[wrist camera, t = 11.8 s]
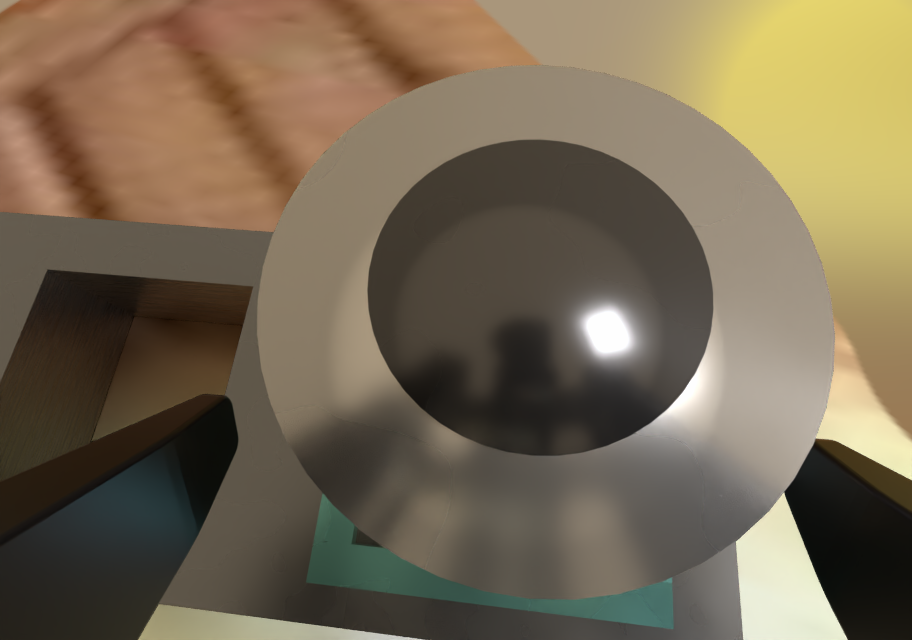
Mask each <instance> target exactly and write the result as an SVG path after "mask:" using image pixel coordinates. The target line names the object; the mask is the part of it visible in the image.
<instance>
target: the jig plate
mask: <svg viewBox="0 0 912 640" xmlns="http://www.w3.org/2000/svg"><path fill="white" fill-rule="evenodd" d="M273 233H274V232H262V231H249V230H235V229H222V228H208V227H195V226H182V225H168V224H155V223H141V222H128V221H114V220H101V219H87V218H74V217H60V216H47V215H34V214H20V213H7V212H0V481H3V480H5V479H7V478H10V477H12V476H14V475H17V474H19V473H21V472H24V471H26V470H28V469H31V468H33V467H35V466H37V465H40V464H42V463H44V462H47V461H49V460H51V459H54V458H56V457H58V456H61V455H63V454H65V453H68V452H70V451H72V450H75V449H77V448H79V447H81V446H84V445H86V444H88V443H90V442H91V439H92V436H93V433H94V430H95V427H96V424H97V421H98V418H99V415H100V412H101V410H102V407H103V404H104V401H105V398H106V395H107V392H108V389H109V386H110V383H111V380H112V378H113V375H114V372H115V369H116V366H117V363H118V360H119V357H120V354H121V351H122V348H123V345H124V343H125V340H126V337H127V334H128V331H129V328H130V325H131V322H132V319H133V316H140V317H151V318H163V319H174V320H185V321H196V322H208V323H219V324H230V325H241V326H243V328H242V331H241V335H240V339H239V343H238V347H237V351H236V354H235V358H234V362H233V366H232V370H231V373H230V377H229V381H228V385H227V389H226V392H225V396H227V397H228V398H230V400H231V402H232V405H233V410H234V415H235V420H236V426H237V431H238V437H239V441H238V447H237V451H236V453H235V456H234V458H233V460H232V462H231V465H230V467H229V469H228V471H227V473H226V476H225V478H224V480H223V482H222V485H221V487H220V489H219V491H218V493H217V496H216V498H215V500H214V502H213V505H212V507H211V509H210V511H209V513H208V516H207V518H206V520H205V522H204V524H203V526H202V528H201V530H200V532H199V534H198V536H197V538H196V540H195V542H194V544H193V545H192V547H191V549H190V551H189V552H188V554H187V556H186V558H185V559H184V561H183V563H182V565H181V566H180V568H179V570H178V571H177V573H176V575H175V577H174V578H173V580H172V582H171V584H170V585H169V587H168V589H167V590H166V592H165V594H164V596H163V597H162V599H161V601H160V602H159V604H163V605H171V606H178V607H186V608H193V609H201V610H208V611H216V612H223V613H231V614H238V615H246V616H253V617H261V618H268V619H276V620H283V621H291V622H298V623H306V624H313V625H321V626H328V627H336V628H343V629H350V630H358V631H365V632H373V633H380V634H388V635H395V636H403V637H410V638H418V639H425V640H743V632H742V619H741V606H740V593H739V579H738V566H737V553H736V541H735V542H734V543H732V544H731V545H729V546H728V547H726V548H725V549H723V550H722V551H720V552H719V553H717V554H716V555H714V556H713V557H711V558H710V559H708V560H707V561H705V562H704V563H702V564H700V565H697V566H695V567H693V568H691V569H689V570H687V571H684V572H682V573H680V574H678V575H676V576H674V577H671V578H669V579H667V580H665V581H663V582H659V583H656V584H652V585H649V586H645V587H642V588H638V589H635V590H631V591H628V592H624V593H621V594H614V595H607V596H599V597H591V598H583V599H575V600H568V599H527V598H521V597H515V596H509V595H504V594H498V593H492V592H486V591H481V590H478V589H475V588H472V587H469V586H466V585H463V584H460V583H456V582H453V581H450V580H447V579H444V578H441V577H438V576H436V575H434V574H432V573H430V572H428V571H426V570H424V569H422V568H420V567H418V566H416V565H414V564H412V563H410V562H408V561H406V560H404V559H402V558H400V557H398V556H397V555H395V554H394V553H392V552H391V551H389V550H388V549H386V548H385V547H383V546H382V545H380V544H379V543H377V542H376V541H375V540H373V539H372V538H370V537H369V536H367V535H366V534H364V533H363V532H362V531H361V530H360V529H359V528H357V527H356V526H355V525H354V524H353V523H352V522H351V521H350V520H349V519H348V518H346V517H345V516H344V515H343V514H342V513H341V512H340V511H339V510H338V509H337V508H335V507H334V506H333V505H332V504H331V502H330V501H329V500H328V499H327V498H326V496H325V495H324V494H323V493H322V491H321V490H320V489H319V488H318V487H317V485H316V484H315V483H314V482H313V481H312V479H311V478H310V477H309V476H308V475H307V473H306V472H305V470H304V468H303V467H302V465H301V464H300V462H299V460H298V459H297V457H296V455H295V454H294V452H293V450H292V449H291V447H290V446H289V444H288V442H287V441H286V439H285V436H284V434H283V432H282V429H281V427H280V425H279V422H278V420H277V418H276V415H275V413H274V411H273V408H272V406H271V403H270V400H269V396H268V392H267V388H266V385H265V381H264V377H263V374H262V370H261V363H260V354H259V346H258V338H257V308H258V294H259V288H260V282H261V275H262V269H263V265H264V261H265V258H266V255H267V251H268V248H269V245H270V241H271V238H272V235H273Z"/></svg>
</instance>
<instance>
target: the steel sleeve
mask: <svg viewBox="0 0 912 640" xmlns="http://www.w3.org/2000/svg"><path fill="white" fill-rule="evenodd" d="M257 338H258V346H259V354H260V363H261V370H262V374H263V377H264V381H265V385H266V388H267V392H268V396H269V400H270V403H271V406H272V408H273V411H274V413H275V415H276V418H277V420H278V422H279V425H280V427H281V429H282V432H283V434H284V436H285V439H286V441H287V442H288V444H289V446H290V447H291V449H292V450H293V452H294V454H295V455H296V457H297V459H298V460H299V462H300V464H301V465H302V467H303V468H304V470H305V472H306V473H307V475H308V476H309V477H310V478H311V479H312V481H313V482H314V483H315V484H316V485H317V487H318V488H319V489H320V490H321V491H322V493H323V494H324V495H325V496H326V498H327V499H328V500H329V501H330V502H331V504H332V505H333V506H334V507H335V508H337V509H338V510H339V511H340V512H341V513H342V514H343V515H344V516H345V517H346V518H348V519H349V520H350V521H351V522H352V523H353V524H354V525H355V526H356V527H357V528H359V529H360V530H361V531H362V532H363V533H364V534H366V535H367V536H369V537H370V538H372V539H373V540H375V541H376V542H377V543H379V544H380V545H382V546H383V547H385V548H386V549H388V550H389V551H391V552H392V553H394V554H395V555H397V556H398V557H400V558H402V559H404V560H406V561H408V562H410V563H412V564H414V565H416V566H418V567H420V568H422V569H424V570H426V571H428V572H430V573H432V574H434V575H436V576H438V577H441V578H444V579H447V580H450V581H453V582H456V583H460V584H463V585H466V586H469V587H472V588H475V589H478V590H481V591H486V592H492V593H498V594H504V595H509V596H515V597H521V598H527V599H568V600H575V599H583V598H591V597H599V596H607V595H614V594H621V593H624V592H628V591H631V590H635V589H638V588H642V587H645V586H649V585H652V584H656V583H659V582H663V581H665V580H667V579H669V578H671V577H674V576H676V575H678V574H680V573H682V572H684V571H687V570H689V569H691V568H693V567H695V566H697V565H700V564H702V563H704V562H705V561H707V560H708V559H710V558H711V557H713V556H714V555H716V554H717V553H719V552H720V551H722V550H723V549H725V548H726V547H728V546H729V545H731V544H732V543H734V542H735V541H737V540H738V539H739V538H740V537H741V536H742V535H744V534H745V533H746V532H747V531H748V530H749V529H750V528H751V527H752V526H753V525H754V524H755V523H757V522H758V521H759V520H760V519H761V518H762V517H763V516H764V515H765V514H766V513H767V512H768V511H769V510H770V509H771V508H772V507H773V505H774V504H775V503H776V501H777V500H778V499H779V498H780V496H781V495H782V494H783V493H784V491H785V490H786V489H787V487H788V486H789V485H790V484H791V482H792V481H793V480H794V478H795V477H796V475H797V473H798V471H799V469H800V468H801V466H802V464H803V462H804V460H805V458H806V457H807V455H808V453H809V451H810V449H811V448H812V446H813V444H814V441H815V438H816V436H817V433H818V430H819V427H820V424H821V422H822V419H823V416H824V413H825V410H826V408H827V402H828V397H829V392H830V387H831V381H832V376H833V371H834V342H835V331H834V322H833V313H832V304H831V297H830V293H829V289H828V285H827V281H826V278H825V274H824V270H823V266H822V262H821V260H820V258H819V255H818V253H817V250H816V248H815V245H814V243H813V241H812V238H811V236H810V233H809V231H808V229H807V227H806V226H805V224H804V222H803V220H802V219H801V217H800V215H799V213H798V212H797V210H796V208H795V206H794V205H793V203H792V201H791V200H790V198H789V197H788V196H787V194H786V193H785V192H784V190H783V189H782V188H781V186H780V185H779V184H778V182H777V181H776V180H775V178H774V177H773V175H772V174H771V173H770V172H769V171H768V170H767V169H766V168H765V167H764V166H763V165H762V163H761V162H760V161H759V160H758V159H757V158H756V157H755V156H754V155H753V154H752V153H751V152H750V151H749V150H748V149H747V148H746V147H745V146H744V145H742V144H741V143H740V142H739V141H738V140H737V139H735V138H734V137H733V136H732V135H731V134H729V133H728V132H727V131H726V130H724V129H723V128H722V127H721V126H719V125H718V124H716V123H715V122H713V121H712V120H710V119H709V118H707V117H706V116H704V115H703V114H701V113H700V112H698V111H697V110H695V109H693V108H692V107H690V106H688V105H686V104H684V103H682V102H680V101H678V100H676V99H675V98H673V97H671V96H669V95H667V94H665V93H662V92H660V91H657V90H655V89H652V88H650V87H647V86H644V85H642V84H640V83H637V82H634V81H630V80H627V79H624V78H620V77H616V76H613V75H610V74H606V73H601V72H595V71H590V70H585V69H579V68H572V67H559V66H547V65H526V66H506V67H498V68H490V69H482V70H477V71H473V72H468V73H464V74H459V75H455V76H451V77H448V78H445V79H442V80H439V81H436V82H433V83H430V84H427V85H424V86H421V87H419V88H417V89H415V90H413V91H411V92H409V93H406V94H404V95H402V96H400V97H398V98H396V99H394V100H392V101H390V102H389V103H387V104H385V105H384V106H382V107H380V108H379V109H377V110H375V111H374V112H372V113H371V114H369V115H367V116H366V117H365V118H363V119H362V120H361V121H360V122H358V123H357V124H356V125H354V126H353V127H352V128H350V129H349V130H348V131H347V132H345V133H344V134H343V135H342V136H341V137H340V138H339V139H338V140H337V141H336V142H335V143H334V144H333V145H332V146H331V147H330V148H329V149H327V150H326V151H325V152H324V153H323V154H322V155H321V157H320V158H319V159H318V160H317V162H316V163H315V164H314V165H313V167H312V168H311V169H310V170H309V172H308V173H307V174H306V175H305V176H304V178H303V179H302V180H301V182H300V184H299V185H298V187H297V188H296V190H295V192H294V193H293V195H292V197H291V198H290V200H289V201H288V203H287V205H286V206H285V208H284V211H283V213H282V215H281V217H280V220H279V222H278V224H277V226H276V228H275V231H274V233H273V235H272V238H271V241H270V245H269V248H268V251H267V255H266V258H265V261H264V265H263V269H262V275H261V282H260V288H259V294H258V308H257Z"/></svg>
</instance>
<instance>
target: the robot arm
mask: <svg viewBox="0 0 912 640" xmlns="http://www.w3.org/2000/svg"><path fill="white" fill-rule="evenodd" d="M238 441H239V437H238V431H237V426H236V420H235V415H234V410H233V405H232V402H231V400H230V398H228V397H227V396H224V395H211V394H203V395H200V396H197V397H195V398H193V399H190V400H188V401H186V402H183V403H181V404H179V405H176V406H174V407H172V408H169V409H167V410H165V411H162V412H160V413H158V414H156V415H153V416H151V417H149V418H146V419H144V420H142V421H139V422H137V423H135V424H132V425H130V426H128V427H125V428H123V429H121V430H118V431H116V432H114V433H112V434H109V435H107V436H105V437H102V438H100V439H98V440H95V441H93V442H91V443H88V444H86V445H84V446H81V447H79V448H77V449H75V450H72V451H70V452H68V453H65V454H63V455H61V456H58V457H56V458H54V459H51V460H49V461H47V462H44V463H42V464H40V465H37V466H35V467H33V468H31V469H28V470H26V471H24V472H21V473H19V474H17V475H14V476H12V477H10V478H7V479H5V480H3V481H0V640H138V639H139V637H140V635H141V634H142V632H143V630H144V628H145V627H146V625H147V623H148V621H149V620H150V618H151V616H152V615H153V613H154V611H155V609H156V608H157V606H158V604H159V602H160V601H161V599H162V597H163V596H164V594H165V592H166V590H167V589H168V587H169V585H170V584H171V582H172V580H173V578H174V577H175V575H176V573H177V571H178V570H179V568H180V566H181V565H182V563H183V561H184V559H185V558H186V556H187V554H188V552H189V551H190V549H191V547H192V545H193V544H194V542H195V540H196V538H197V536H198V534H199V532H200V530H201V528H202V526H203V524H204V522H205V520H206V518H207V516H208V513H209V511H210V509H211V507H212V505H213V502H214V500H215V498H216V496H217V493H218V491H219V489H220V487H221V485H222V482H223V480H224V478H225V476H226V473H227V471H228V469H229V467H230V465H231V462H232V460H233V458H234V456H235V453H236V451H237V447H238ZM784 493H785V497H786V499H787V502H788V504H789V507H790V509H791V512H792V515H793V517H794V520H795V522H796V525H797V527H798V530H799V532H800V535H801V537H802V540H803V542H804V545H805V547H806V550H807V552H808V555H809V557H810V560H811V562H812V565H813V567H814V570H815V572H816V575H817V577H818V580H819V582H820V584H821V587H822V589H823V591H824V593H825V595H826V597H827V600H828V602H829V604H830V606H831V608H832V610H833V612H834V614H835V616H836V618H837V620H838V622H839V623H840V625H841V627H842V629H843V631H844V633H845V635H846V637H847V639H848V640H912V480H910V479H908V478H906V477H904V476H902V475H900V474H898V473H896V472H894V471H893V470H891V469H889V468H887V467H885V466H883V465H881V464H879V463H877V462H875V461H873V460H871V459H869V458H868V457H866V456H864V455H862V454H860V453H858V452H856V451H854V450H852V449H850V448H848V447H846V446H844V445H843V444H841V443H839V442H836V441H833V440H827V439H815V441H814V444H813V446H812V448H811V449H810V451H809V453H808V455H807V457H806V458H805V460H804V462H803V464H802V466H801V468H800V469H799V471H798V473H797V475H796V477H795V478H794V480H793V481H792V482H791V484H790V485H789V486H788V487H787V489H786V490H785V491H784Z"/></svg>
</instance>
